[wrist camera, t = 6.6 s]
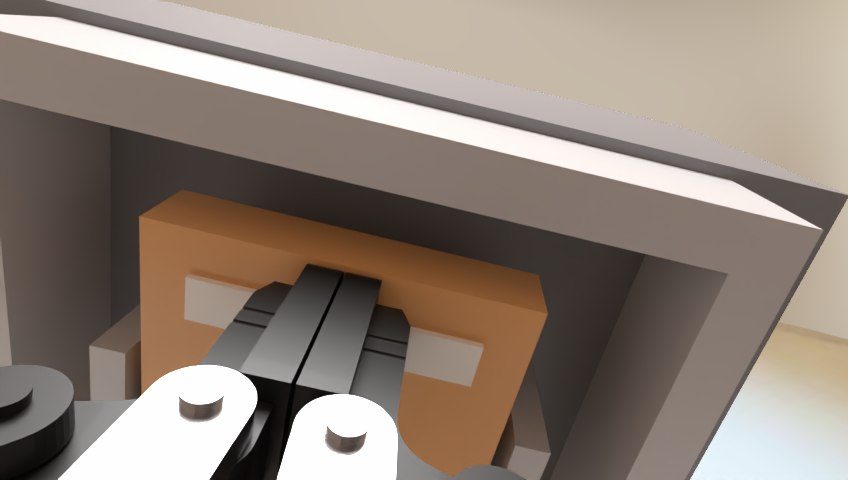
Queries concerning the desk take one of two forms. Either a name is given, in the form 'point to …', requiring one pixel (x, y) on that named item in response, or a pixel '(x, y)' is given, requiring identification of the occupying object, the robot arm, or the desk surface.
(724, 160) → the box
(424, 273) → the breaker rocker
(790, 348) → the desk surface
